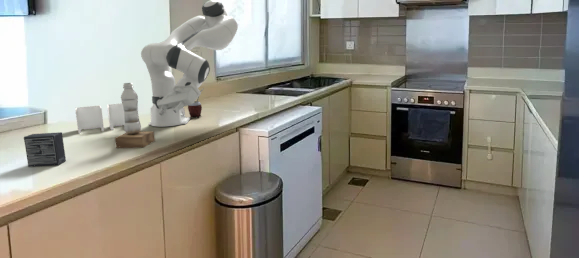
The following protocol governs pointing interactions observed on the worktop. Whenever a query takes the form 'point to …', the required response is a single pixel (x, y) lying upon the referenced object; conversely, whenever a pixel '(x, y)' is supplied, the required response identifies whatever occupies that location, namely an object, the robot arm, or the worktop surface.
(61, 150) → the small box
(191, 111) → the mate gourd
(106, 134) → the worktop surface
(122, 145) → the plinth
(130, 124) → the plastic bottle
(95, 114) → the pair of white bookends
